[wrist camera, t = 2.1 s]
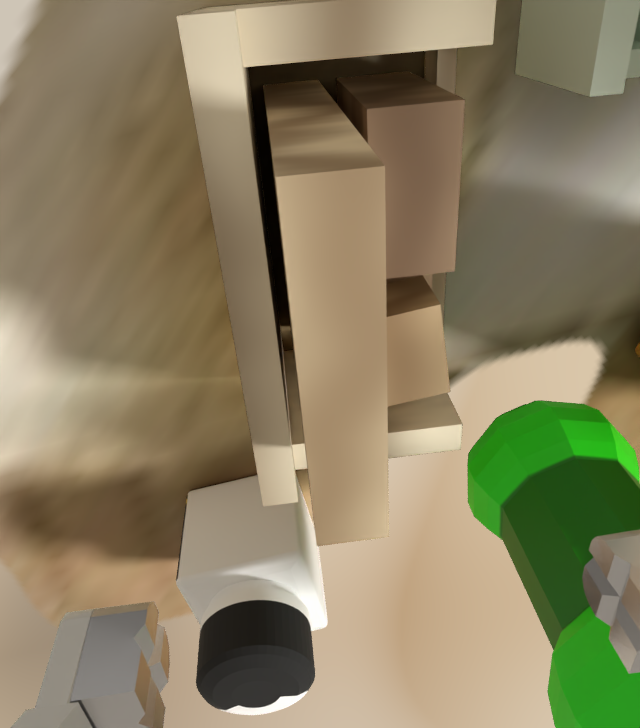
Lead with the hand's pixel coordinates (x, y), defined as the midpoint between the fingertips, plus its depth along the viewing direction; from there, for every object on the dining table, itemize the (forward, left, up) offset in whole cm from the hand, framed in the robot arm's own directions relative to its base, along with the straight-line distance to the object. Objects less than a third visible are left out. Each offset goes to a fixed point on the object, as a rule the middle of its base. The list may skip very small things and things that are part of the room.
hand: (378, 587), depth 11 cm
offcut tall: (-4, -3, -21) cm, 22 cm away
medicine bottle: (+5, +20, -21) cm, 30 cm away
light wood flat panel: (0, 0, -21) cm, 21 cm away
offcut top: (-4, +4, -16) cm, 17 cm away
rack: (-2, 0, -21) cm, 21 cm away
